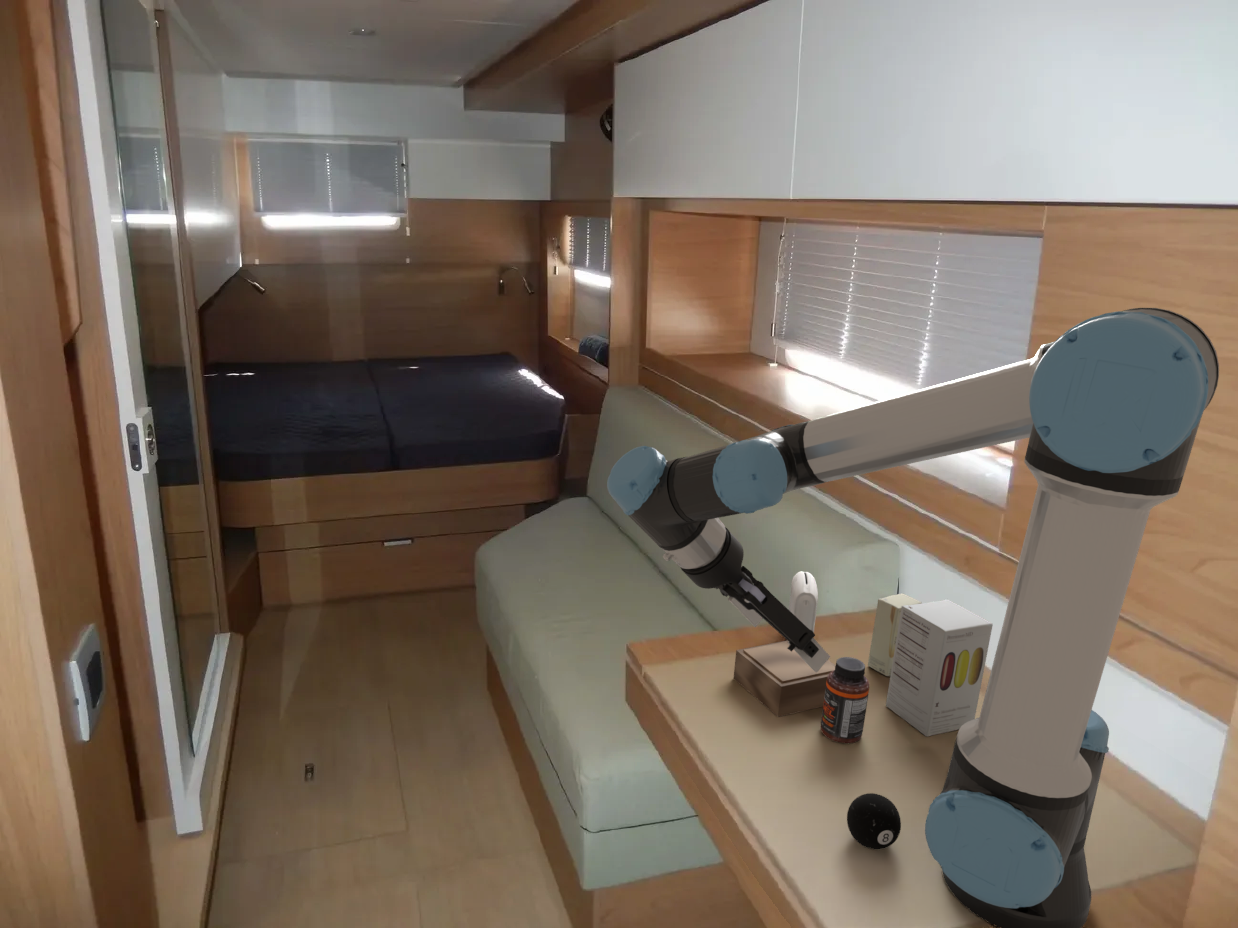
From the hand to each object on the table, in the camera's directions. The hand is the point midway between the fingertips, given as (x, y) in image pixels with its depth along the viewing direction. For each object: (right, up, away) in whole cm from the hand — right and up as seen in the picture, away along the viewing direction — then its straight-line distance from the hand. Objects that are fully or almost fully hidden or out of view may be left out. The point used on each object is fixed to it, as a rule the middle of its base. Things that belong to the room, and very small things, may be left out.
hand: (789, 640), depth 119 cm
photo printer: (+9, -8, +37) cm, 39 cm away
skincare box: (+22, -11, +30) cm, 39 cm away
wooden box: (+3, -12, +20) cm, 24 cm away
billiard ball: (+7, -22, -13) cm, 26 cm away
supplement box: (+24, -15, +15) cm, 32 cm away
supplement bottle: (+9, -16, +9) cm, 20 cm away
